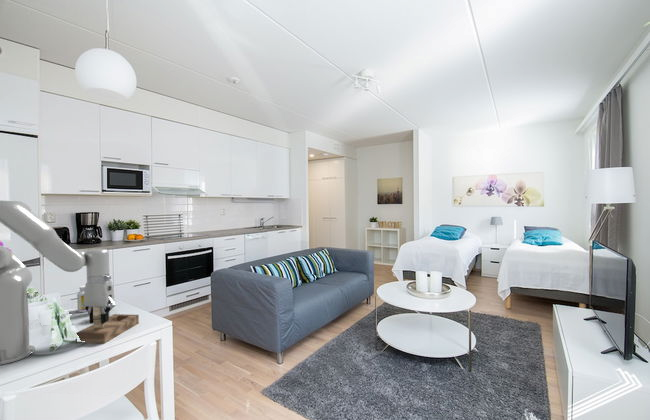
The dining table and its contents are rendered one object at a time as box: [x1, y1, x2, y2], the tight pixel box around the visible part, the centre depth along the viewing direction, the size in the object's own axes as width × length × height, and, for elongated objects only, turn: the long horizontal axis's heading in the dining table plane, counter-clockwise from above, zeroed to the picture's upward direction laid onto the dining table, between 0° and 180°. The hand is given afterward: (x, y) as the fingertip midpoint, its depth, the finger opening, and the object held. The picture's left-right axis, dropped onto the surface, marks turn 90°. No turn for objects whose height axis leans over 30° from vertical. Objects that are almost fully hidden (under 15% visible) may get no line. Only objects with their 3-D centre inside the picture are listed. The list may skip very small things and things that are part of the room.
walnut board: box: [75, 313, 140, 344], centre depth 131 cm, size 20×12×4 cm, turn 176°
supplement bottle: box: [76, 284, 93, 313], centre depth 157 cm, size 7×7×13 cm
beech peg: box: [92, 306, 104, 330], centre depth 125 cm, size 4×4×10 cm
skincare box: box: [105, 300, 117, 316], centre depth 147 cm, size 6×6×7 cm
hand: (99, 321), depth 125 cm, fingers open, 4 cm apart
